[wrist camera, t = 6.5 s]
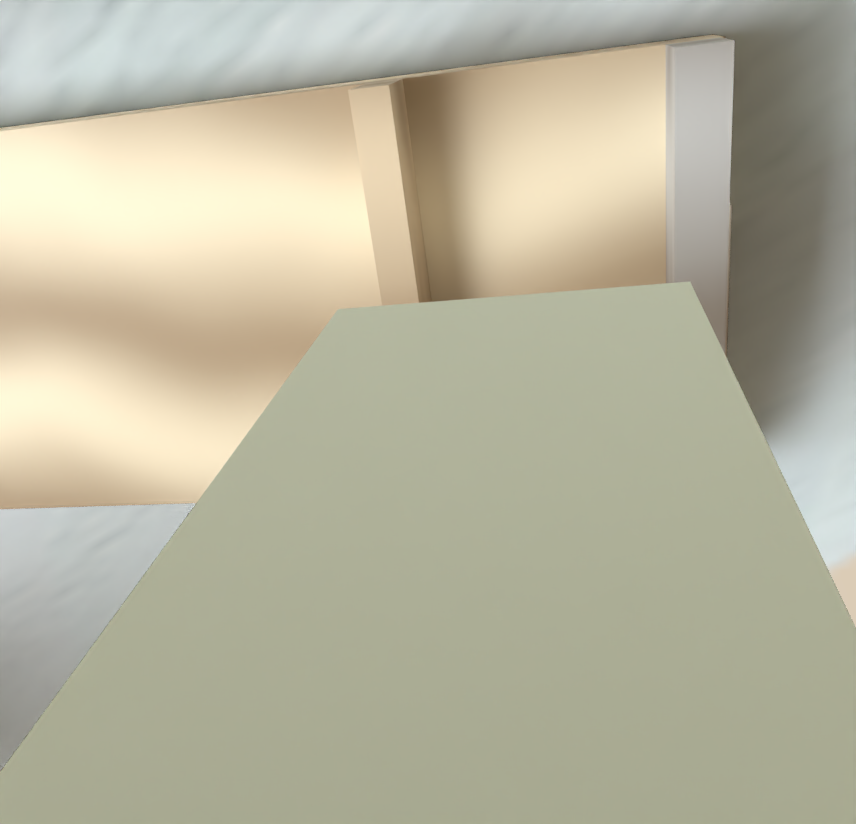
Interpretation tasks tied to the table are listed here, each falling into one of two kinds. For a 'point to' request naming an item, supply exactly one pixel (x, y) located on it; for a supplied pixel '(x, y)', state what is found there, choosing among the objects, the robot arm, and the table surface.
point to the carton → (475, 596)
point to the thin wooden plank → (325, 240)
